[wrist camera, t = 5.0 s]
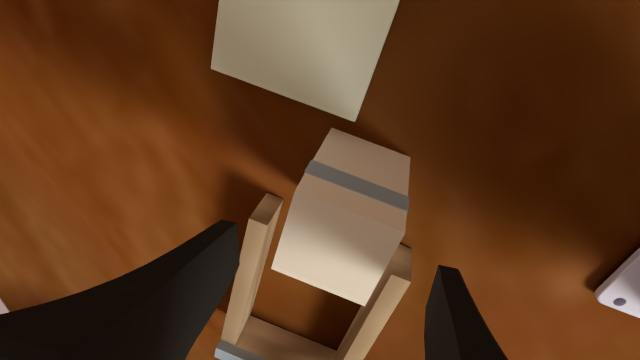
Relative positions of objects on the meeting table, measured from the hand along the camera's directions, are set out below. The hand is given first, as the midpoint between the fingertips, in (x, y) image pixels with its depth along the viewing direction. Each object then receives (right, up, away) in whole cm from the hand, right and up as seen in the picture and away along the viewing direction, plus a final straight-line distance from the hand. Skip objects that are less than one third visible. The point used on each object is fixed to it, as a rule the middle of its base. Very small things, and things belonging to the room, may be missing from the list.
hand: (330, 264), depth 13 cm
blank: (+2, +3, +6) cm, 7 cm away
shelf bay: (-1, -4, +10) cm, 11 cm away
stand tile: (-1, +10, +2) cm, 10 cm away
